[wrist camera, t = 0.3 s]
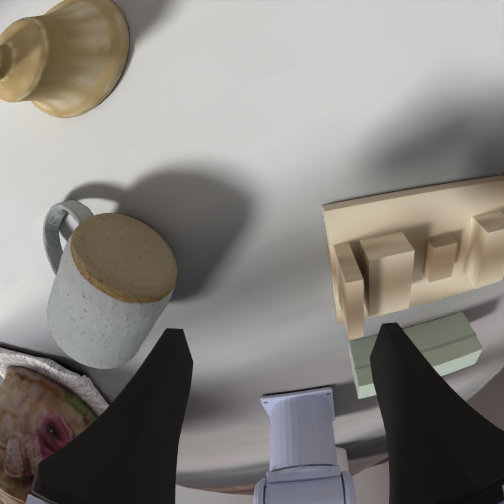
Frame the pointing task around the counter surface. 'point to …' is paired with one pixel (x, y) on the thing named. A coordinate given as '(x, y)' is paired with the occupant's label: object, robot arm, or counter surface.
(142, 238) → the ceramic mug
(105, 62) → the hand bell
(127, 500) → the robot arm
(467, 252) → the display stand
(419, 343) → the glasses case
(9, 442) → the cookie jar
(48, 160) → the counter surface
